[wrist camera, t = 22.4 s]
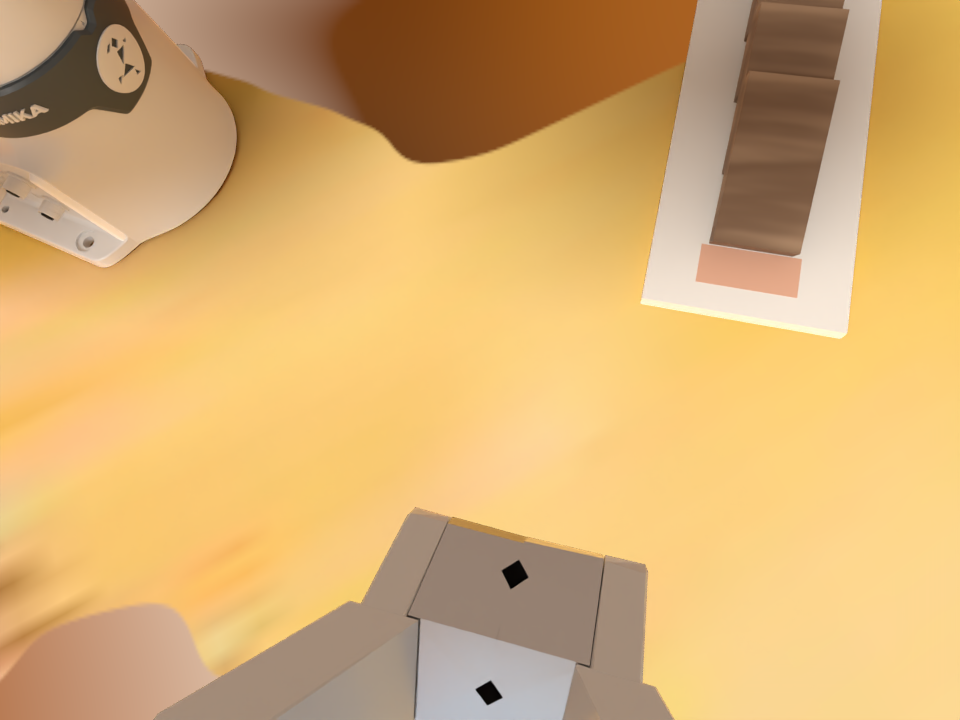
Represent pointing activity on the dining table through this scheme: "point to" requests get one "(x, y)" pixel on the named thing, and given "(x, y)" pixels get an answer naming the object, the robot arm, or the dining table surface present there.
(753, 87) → the domino
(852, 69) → the board
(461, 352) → the dining table surface
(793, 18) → the domino
